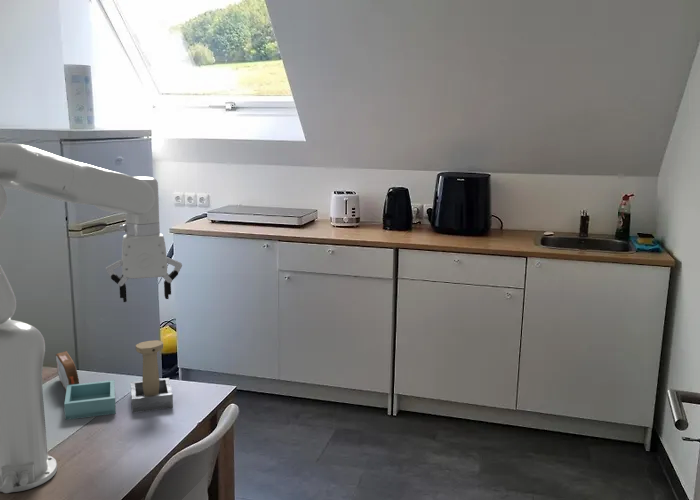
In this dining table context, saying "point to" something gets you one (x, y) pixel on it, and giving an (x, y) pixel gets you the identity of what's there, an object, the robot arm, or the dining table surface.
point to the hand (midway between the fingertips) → (145, 299)
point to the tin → (66, 369)
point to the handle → (150, 365)
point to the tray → (90, 399)
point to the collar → (151, 397)
